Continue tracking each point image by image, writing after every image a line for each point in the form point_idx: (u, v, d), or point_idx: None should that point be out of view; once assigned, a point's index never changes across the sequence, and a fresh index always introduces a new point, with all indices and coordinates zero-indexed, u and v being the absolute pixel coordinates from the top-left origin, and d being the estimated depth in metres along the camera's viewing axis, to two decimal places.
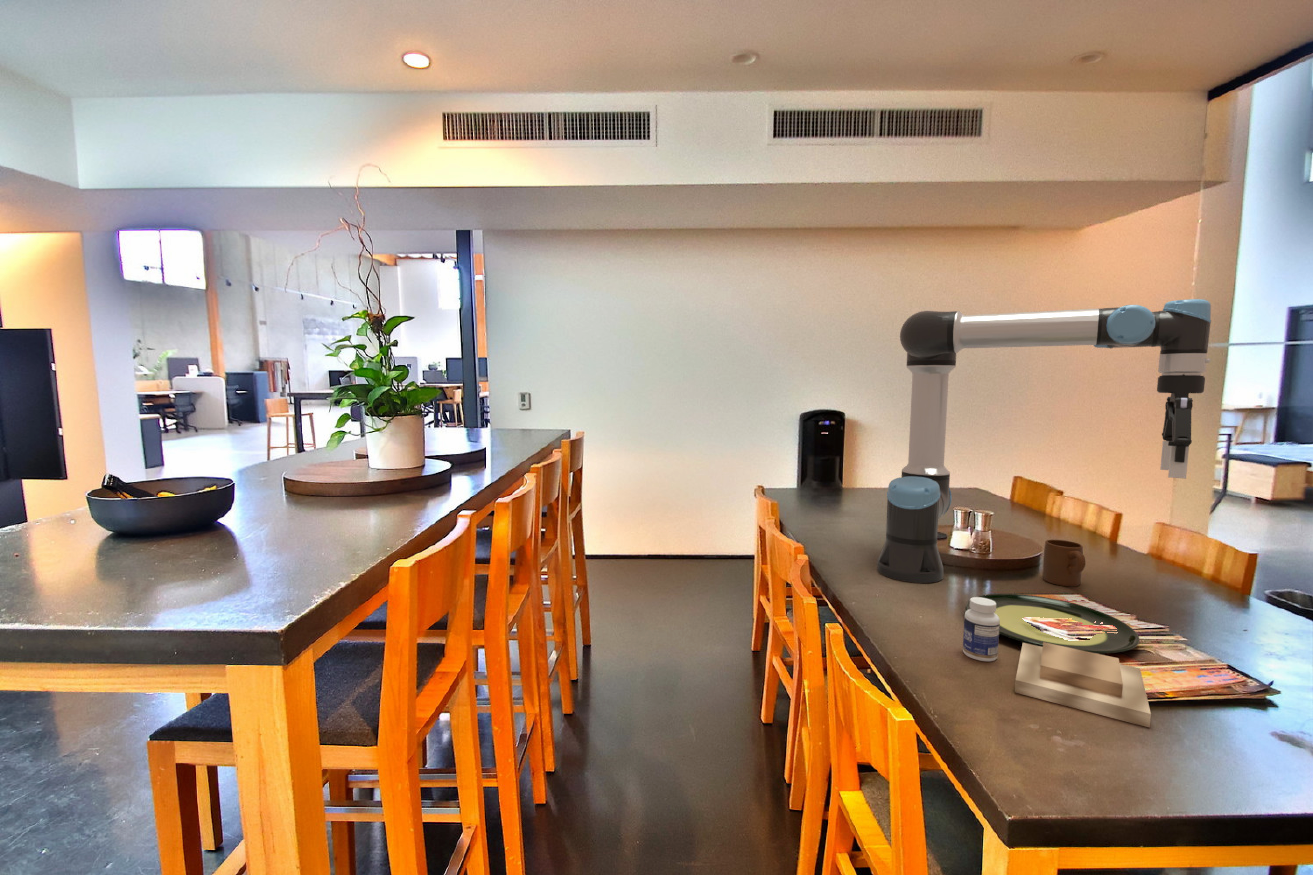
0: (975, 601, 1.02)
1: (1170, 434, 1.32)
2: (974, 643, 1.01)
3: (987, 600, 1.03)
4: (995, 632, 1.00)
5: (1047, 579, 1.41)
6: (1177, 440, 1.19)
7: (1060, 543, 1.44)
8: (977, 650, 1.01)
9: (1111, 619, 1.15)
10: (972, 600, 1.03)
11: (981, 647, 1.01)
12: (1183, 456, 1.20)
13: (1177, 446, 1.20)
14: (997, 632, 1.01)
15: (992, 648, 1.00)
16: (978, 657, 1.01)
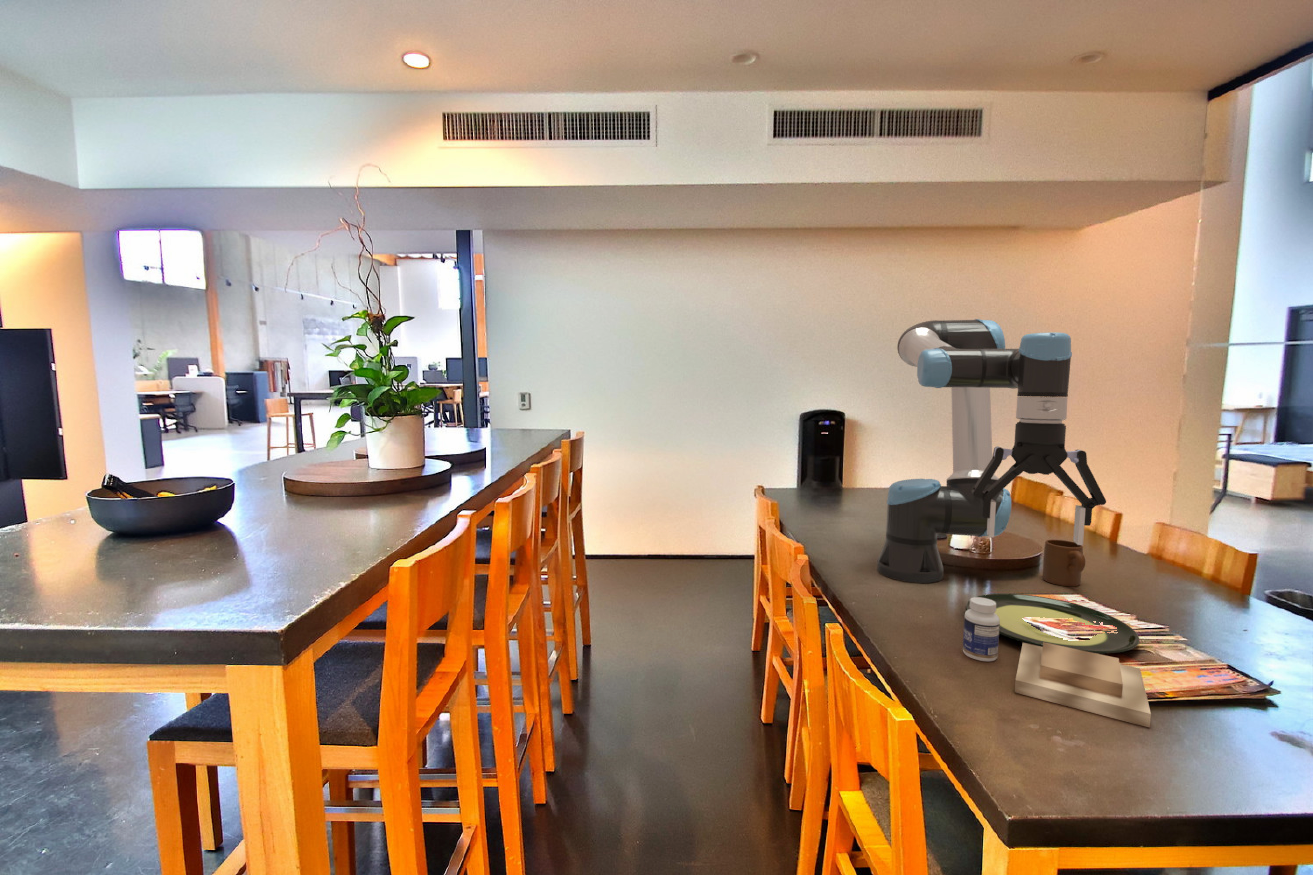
0: (975, 601, 1.02)
1: (1076, 497, 1.04)
2: (974, 643, 1.01)
3: (987, 600, 1.03)
4: (995, 632, 1.00)
5: (1047, 579, 1.41)
6: (972, 491, 1.10)
7: (1060, 543, 1.44)
8: (977, 650, 1.01)
9: (1111, 619, 1.15)
10: (972, 600, 1.03)
11: (981, 647, 1.01)
12: (983, 510, 1.09)
13: None
14: (997, 632, 1.01)
15: (992, 648, 1.00)
16: (978, 657, 1.01)
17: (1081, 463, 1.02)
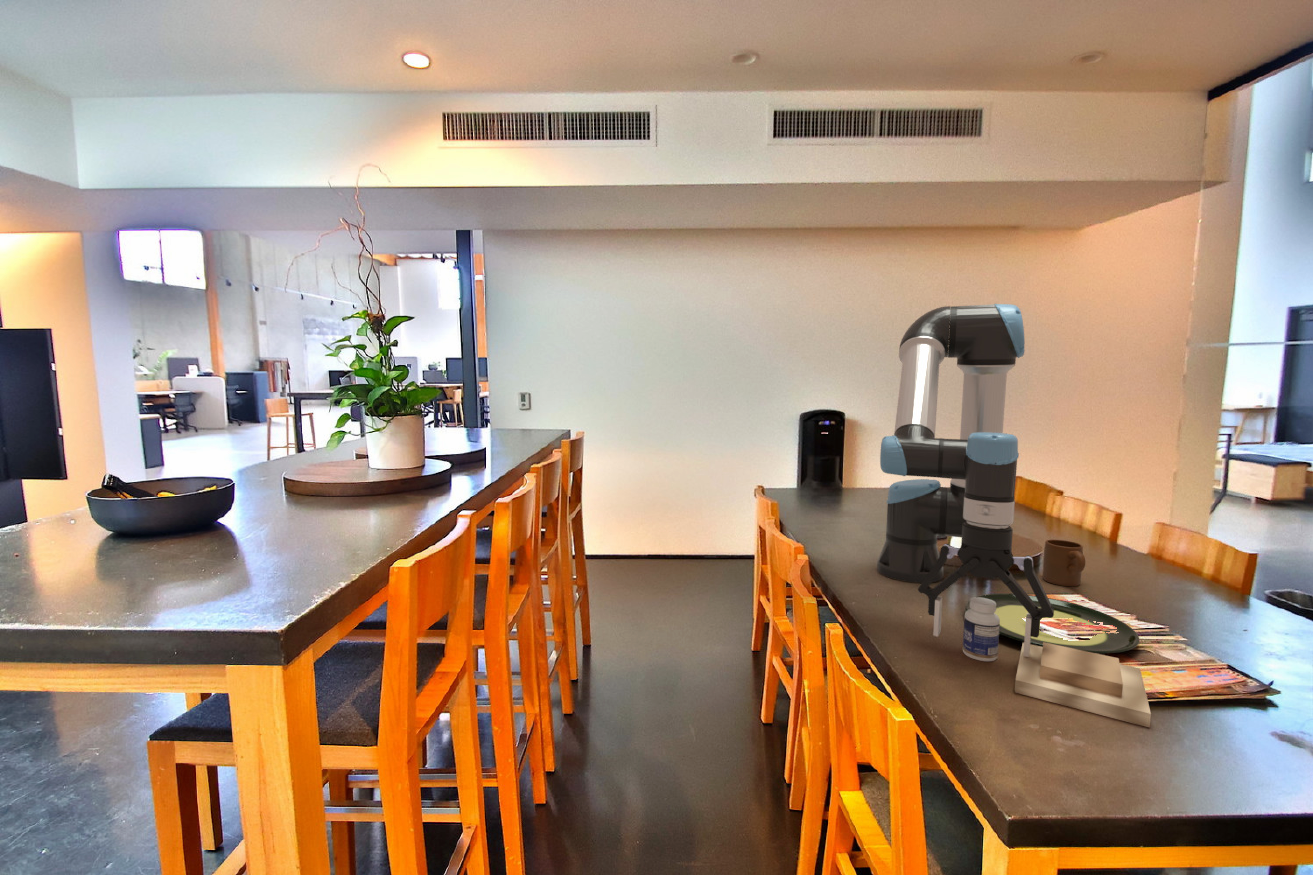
0: (975, 601, 1.02)
1: None
2: (974, 643, 1.01)
3: (987, 600, 1.03)
4: (995, 632, 1.00)
5: (1047, 579, 1.41)
6: None
7: (1060, 543, 1.44)
8: (977, 650, 1.01)
9: (1111, 619, 1.15)
10: (972, 600, 1.03)
11: (981, 647, 1.01)
12: (928, 607, 1.07)
13: None
14: (997, 632, 1.01)
15: (992, 648, 1.00)
16: (978, 657, 1.01)
17: (1027, 571, 0.97)
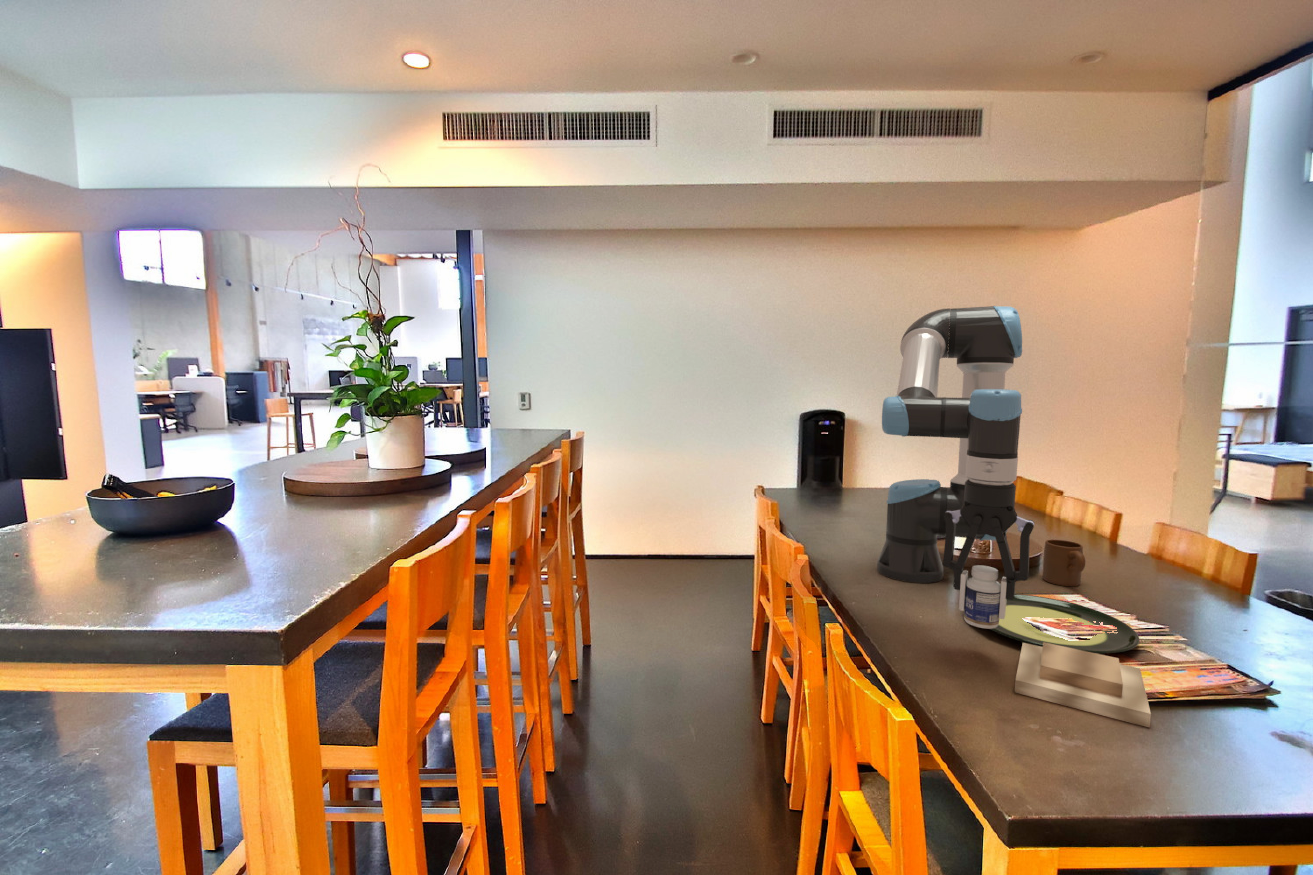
0: (977, 569, 1.02)
1: None
2: (975, 611, 1.01)
3: (989, 568, 1.02)
4: (996, 600, 1.00)
5: (1047, 579, 1.41)
6: None
7: (1060, 543, 1.44)
8: (979, 617, 1.01)
9: (1111, 619, 1.15)
10: (974, 568, 1.02)
11: (983, 615, 1.01)
12: (954, 581, 1.05)
13: None
14: (999, 599, 1.01)
15: (993, 616, 1.00)
16: (979, 624, 1.01)
17: (1023, 534, 0.97)
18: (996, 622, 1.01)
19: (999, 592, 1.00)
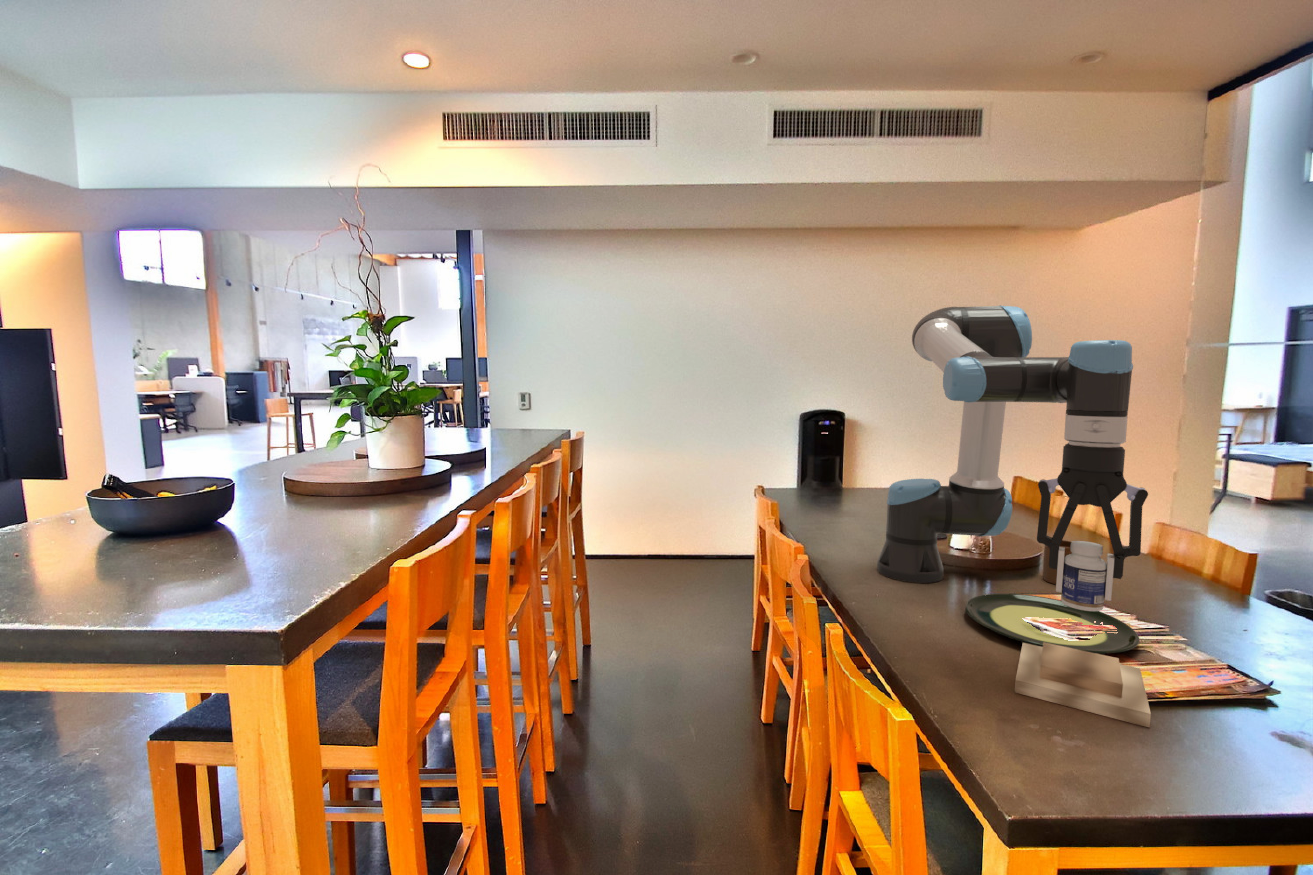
0: (1078, 544, 0.91)
1: None
2: (1077, 591, 0.90)
3: (1091, 543, 0.91)
4: (1102, 578, 0.89)
5: (1047, 579, 1.41)
6: None
7: None
8: (1081, 598, 0.89)
9: (1111, 619, 1.15)
10: (1074, 543, 0.91)
11: (1086, 595, 0.89)
12: None
13: None
14: (1104, 578, 0.89)
15: (1099, 596, 0.89)
16: (1082, 606, 0.89)
17: (1135, 503, 0.86)
18: (1101, 604, 0.89)
19: (1105, 570, 0.89)
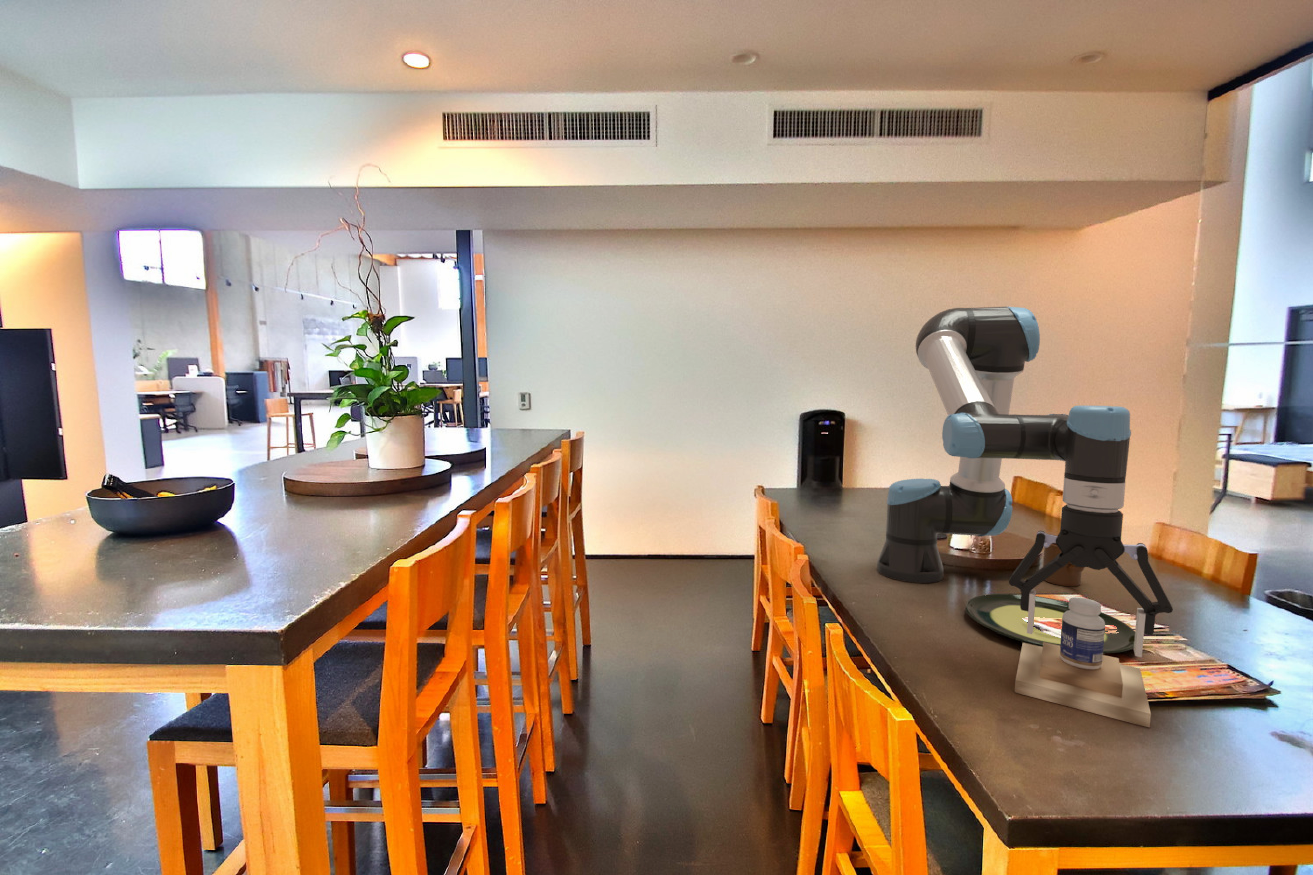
0: (1076, 602, 0.91)
1: None
2: (1076, 649, 0.90)
3: (1089, 601, 0.92)
4: (1100, 637, 0.89)
5: (1047, 579, 1.41)
6: (1010, 577, 0.98)
7: None
8: (1080, 656, 0.90)
9: (1111, 619, 1.15)
10: (1072, 601, 0.92)
11: (1085, 654, 0.90)
12: (1021, 602, 0.96)
13: None
14: (1103, 637, 0.90)
15: (1097, 655, 0.89)
16: (1081, 665, 0.90)
17: (1141, 561, 0.86)
18: (1100, 662, 0.90)
19: (1103, 628, 0.89)
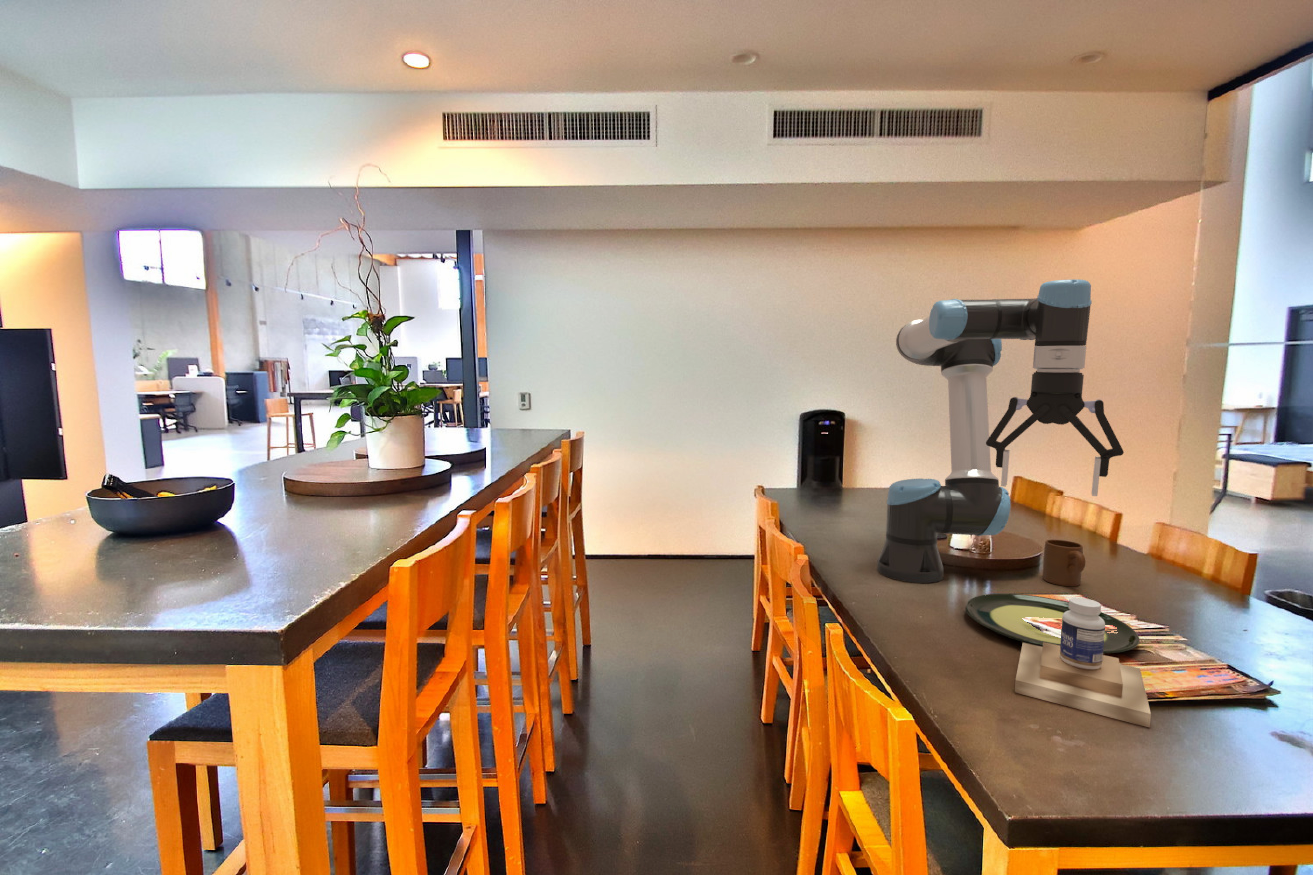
0: (1076, 602, 0.91)
1: None
2: (1076, 649, 0.90)
3: (1089, 601, 0.92)
4: (1100, 637, 0.89)
5: (1047, 579, 1.41)
6: None
7: (1060, 543, 1.44)
8: (1080, 656, 0.90)
9: (1111, 619, 1.15)
10: (1072, 601, 0.92)
11: (1085, 654, 0.90)
12: (996, 460, 1.10)
13: None
14: (1103, 637, 0.90)
15: (1097, 655, 0.89)
16: (1081, 665, 0.90)
17: (1098, 413, 1.00)
18: (1100, 662, 0.90)
19: (1103, 628, 0.89)
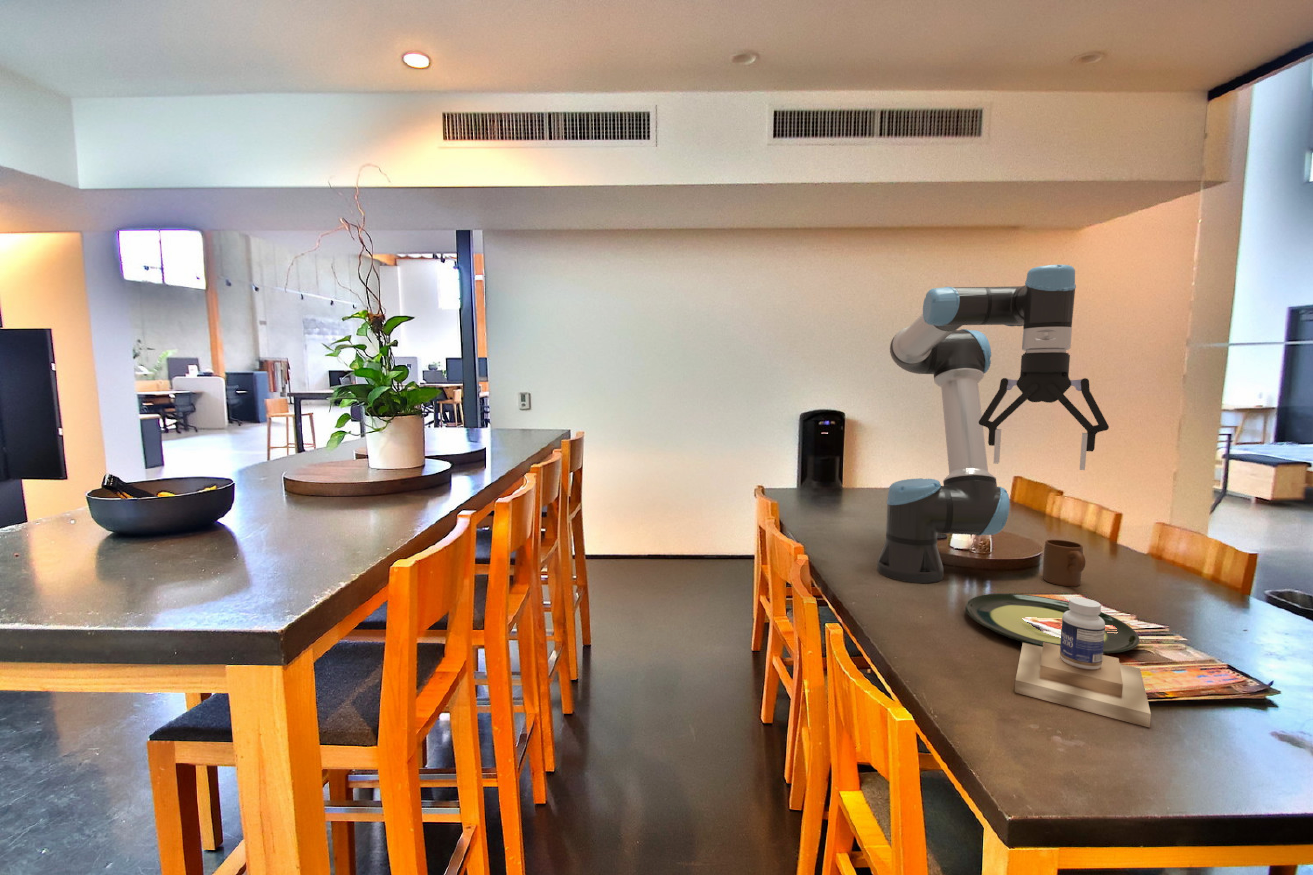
0: (1076, 602, 0.91)
1: None
2: (1076, 649, 0.90)
3: (1089, 601, 0.92)
4: (1100, 637, 0.89)
5: (1047, 579, 1.41)
6: None
7: (1060, 543, 1.44)
8: (1080, 656, 0.90)
9: (1111, 619, 1.15)
10: (1072, 601, 0.92)
11: (1085, 654, 0.90)
12: (988, 438, 1.15)
13: None
14: (1103, 637, 0.90)
15: (1097, 655, 0.89)
16: (1081, 665, 0.90)
17: (1084, 390, 1.06)
18: (1100, 662, 0.90)
19: (1103, 628, 0.89)
